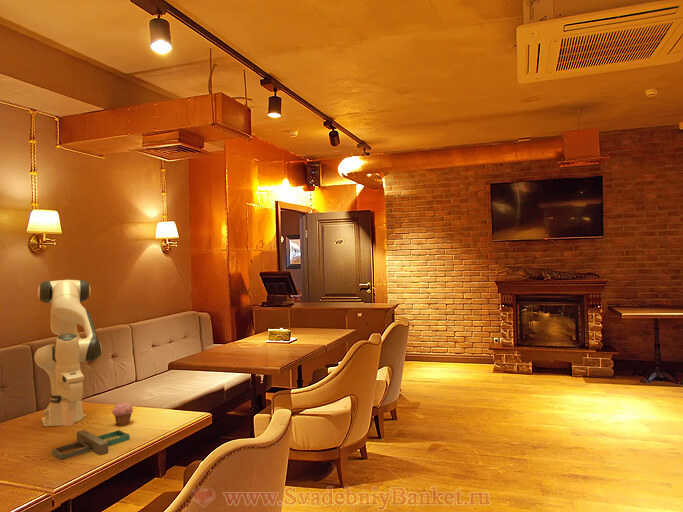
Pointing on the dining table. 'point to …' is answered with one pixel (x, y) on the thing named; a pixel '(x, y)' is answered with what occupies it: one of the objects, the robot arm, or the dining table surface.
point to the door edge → (93, 442)
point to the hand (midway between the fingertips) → (69, 408)
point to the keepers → (86, 448)
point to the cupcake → (122, 413)
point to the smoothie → (67, 412)
